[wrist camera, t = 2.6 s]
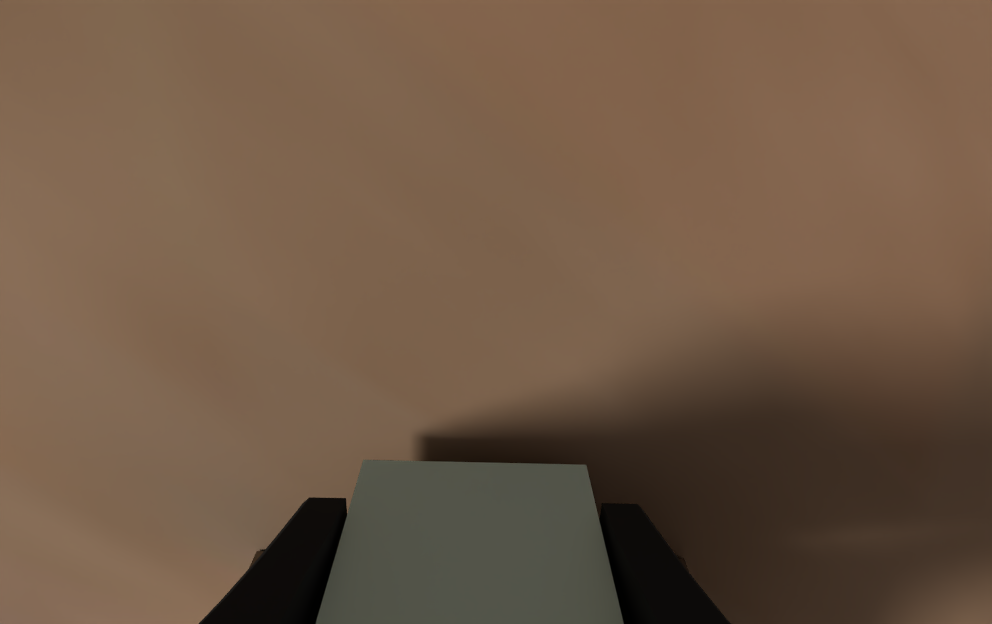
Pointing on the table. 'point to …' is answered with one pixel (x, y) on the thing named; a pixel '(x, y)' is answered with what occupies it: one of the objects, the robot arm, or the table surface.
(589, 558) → the lid
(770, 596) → the table surface
